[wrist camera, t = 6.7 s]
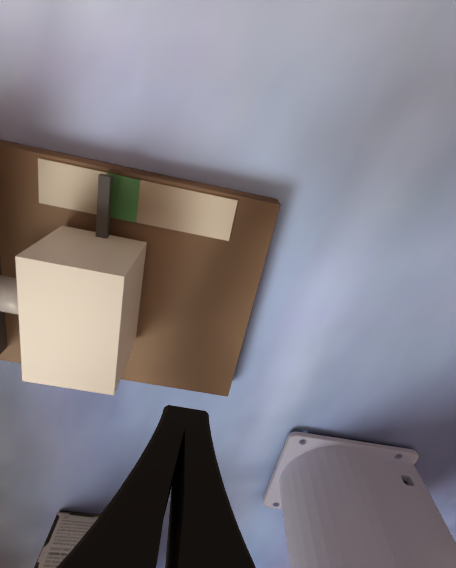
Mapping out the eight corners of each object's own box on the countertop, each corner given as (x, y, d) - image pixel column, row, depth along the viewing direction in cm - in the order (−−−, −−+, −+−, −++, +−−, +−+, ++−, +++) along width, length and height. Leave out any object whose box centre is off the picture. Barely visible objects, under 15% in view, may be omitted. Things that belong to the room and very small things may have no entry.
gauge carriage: (153, 183, 16) (130, 203, 12) (135, 343, 19) (113, 395, 16) (14, 154, 15) (-53, 166, 11) (23, 324, 19) (-25, 373, 15)
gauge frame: (277, 199, 17) (300, 238, 12) (227, 382, 22) (227, 471, 17) (-61, 126, 16) (-216, 132, 10) (-32, 340, 21) (-126, 420, 16)
